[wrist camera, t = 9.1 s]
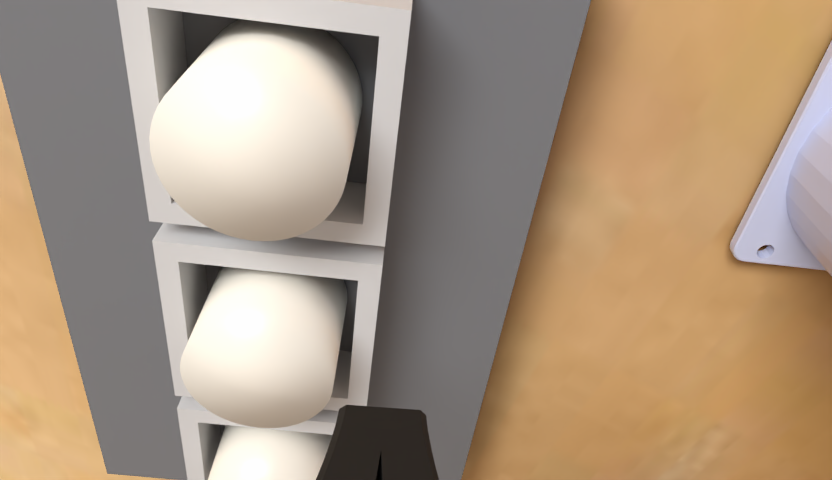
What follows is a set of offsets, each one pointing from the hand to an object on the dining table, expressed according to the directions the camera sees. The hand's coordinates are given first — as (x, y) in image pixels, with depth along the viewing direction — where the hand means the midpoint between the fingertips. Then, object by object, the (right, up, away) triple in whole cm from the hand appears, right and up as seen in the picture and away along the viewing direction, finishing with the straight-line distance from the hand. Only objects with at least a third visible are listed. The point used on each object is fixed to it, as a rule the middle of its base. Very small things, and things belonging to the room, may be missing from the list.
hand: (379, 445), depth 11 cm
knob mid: (-3, +2, +9) cm, 10 cm away
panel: (-3, +3, +11) cm, 12 cm away
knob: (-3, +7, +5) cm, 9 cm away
